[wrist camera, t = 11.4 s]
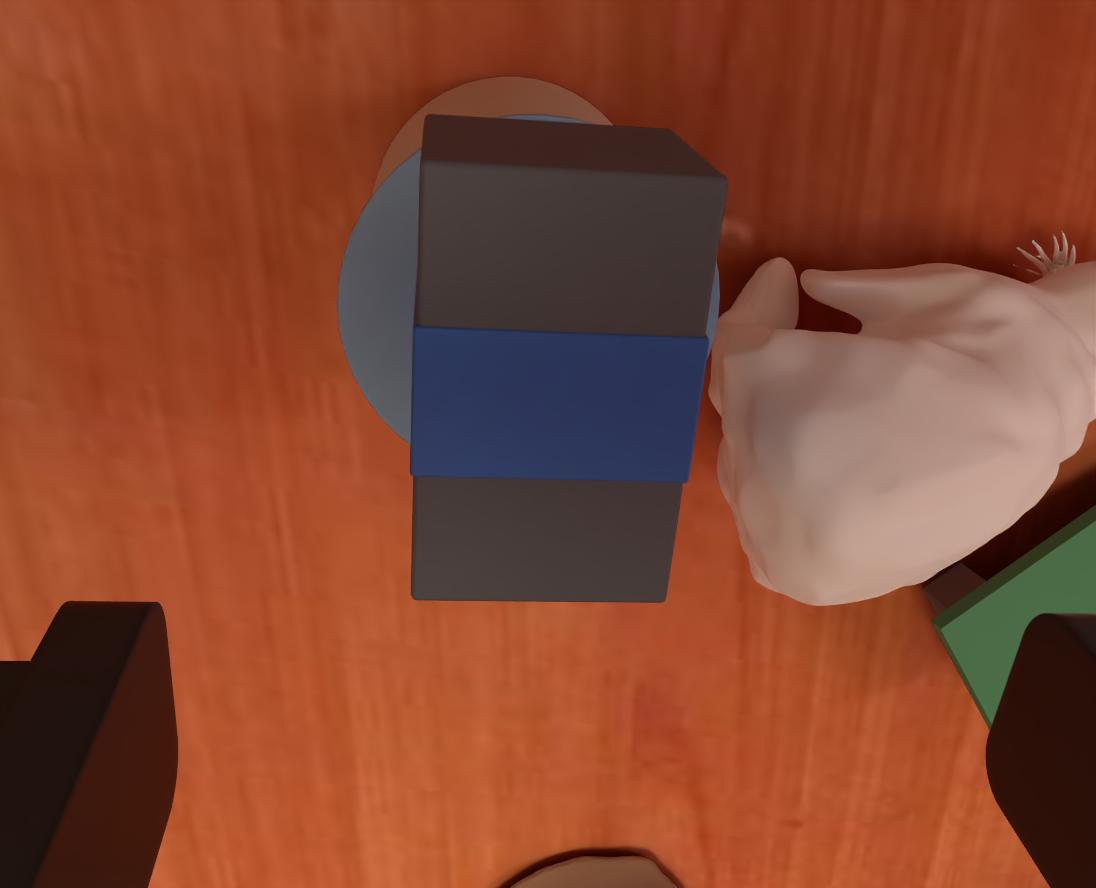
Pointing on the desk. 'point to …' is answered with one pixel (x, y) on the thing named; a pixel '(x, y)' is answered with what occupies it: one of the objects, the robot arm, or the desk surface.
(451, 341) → the block
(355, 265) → the yogurt
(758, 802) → the desk surface
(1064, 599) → the circuit board
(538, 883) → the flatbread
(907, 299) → the white lumpy elongated piece
